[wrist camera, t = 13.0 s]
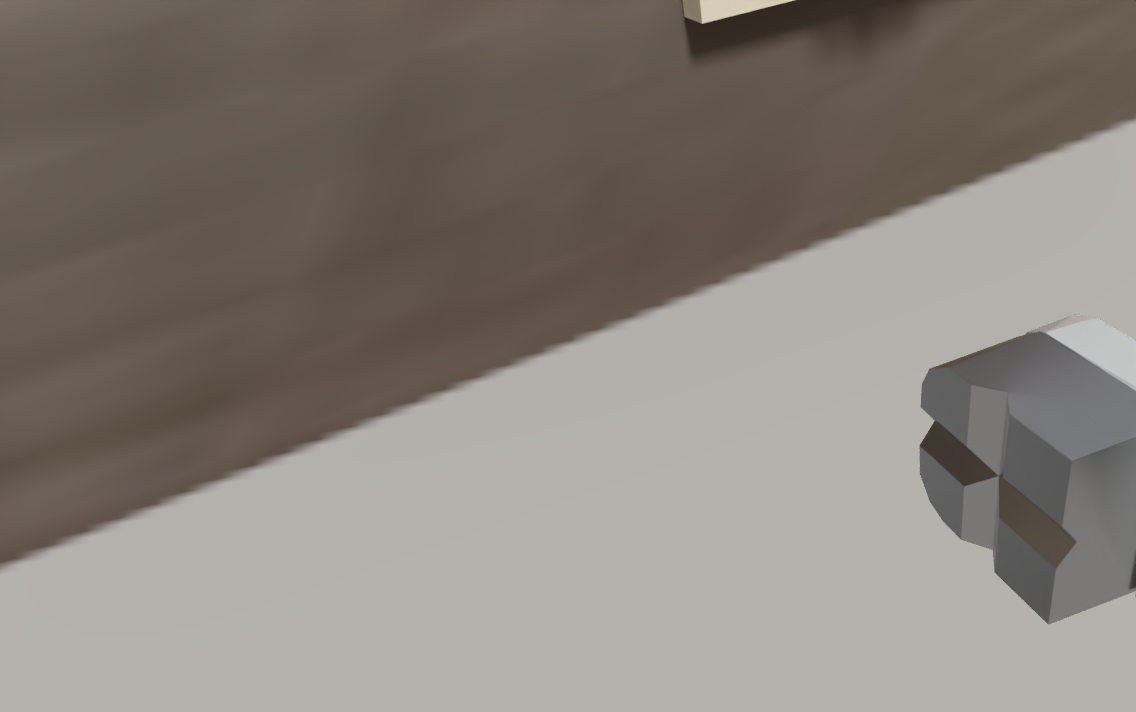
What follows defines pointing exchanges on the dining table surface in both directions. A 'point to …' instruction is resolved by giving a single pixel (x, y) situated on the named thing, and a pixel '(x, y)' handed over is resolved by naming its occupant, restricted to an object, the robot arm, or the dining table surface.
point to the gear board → (723, 8)
